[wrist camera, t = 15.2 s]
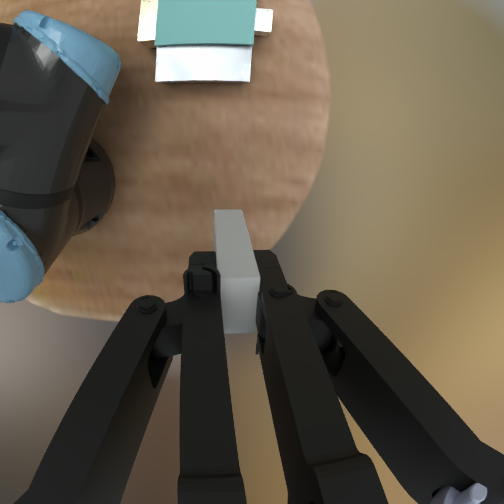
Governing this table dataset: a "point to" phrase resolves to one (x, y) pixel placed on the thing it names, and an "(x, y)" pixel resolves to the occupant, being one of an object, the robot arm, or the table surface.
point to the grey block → (203, 64)
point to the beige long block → (150, 14)
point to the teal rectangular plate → (205, 22)
